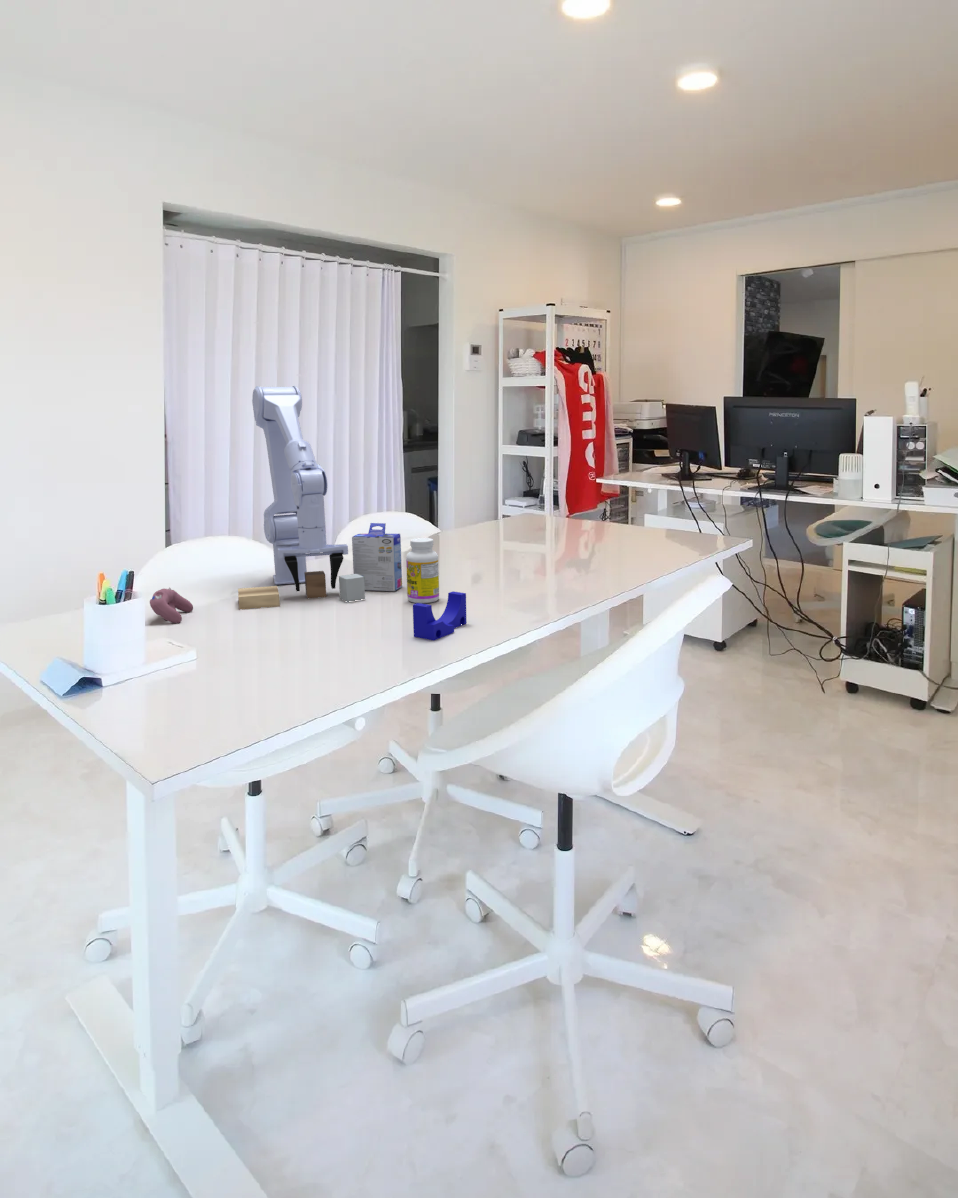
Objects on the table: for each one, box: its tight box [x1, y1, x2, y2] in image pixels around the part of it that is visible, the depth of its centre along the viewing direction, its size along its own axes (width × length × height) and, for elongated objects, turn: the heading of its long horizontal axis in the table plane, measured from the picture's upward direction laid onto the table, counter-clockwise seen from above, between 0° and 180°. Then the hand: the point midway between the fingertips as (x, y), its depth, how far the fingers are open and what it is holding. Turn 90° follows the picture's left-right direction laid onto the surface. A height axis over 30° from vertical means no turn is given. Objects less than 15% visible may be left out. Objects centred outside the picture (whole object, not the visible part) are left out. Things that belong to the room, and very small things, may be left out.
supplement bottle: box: [405, 537, 440, 604], centre depth 168 cm, size 7×7×13 cm
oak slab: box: [237, 585, 281, 610], centre depth 168 cm, size 8×8×3 cm
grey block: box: [338, 573, 366, 603], centre depth 170 cm, size 4×4×5 cm
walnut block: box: [304, 570, 327, 599], centre depth 174 cm, size 4×4×5 cm
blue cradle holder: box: [412, 591, 467, 642], centre depth 146 cm, size 12×4×6 cm, turn 146°
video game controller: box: [149, 587, 194, 624], centre depth 158 cm, size 10×5×7 cm, turn 5°
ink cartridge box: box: [351, 522, 403, 592], centre depth 179 cm, size 10×6×14 cm, turn 79°
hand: (315, 589), depth 174 cm, fingers open, 7 cm apart
